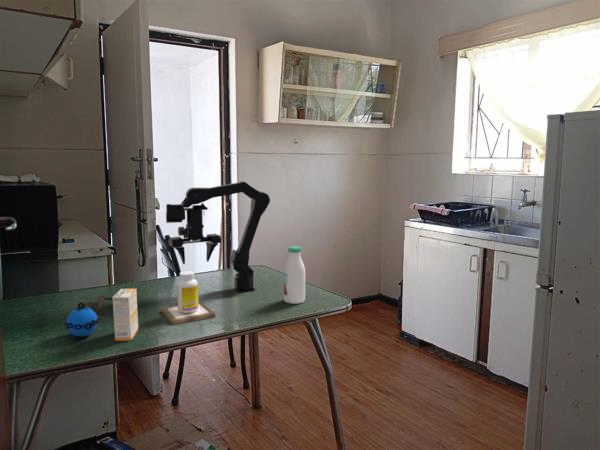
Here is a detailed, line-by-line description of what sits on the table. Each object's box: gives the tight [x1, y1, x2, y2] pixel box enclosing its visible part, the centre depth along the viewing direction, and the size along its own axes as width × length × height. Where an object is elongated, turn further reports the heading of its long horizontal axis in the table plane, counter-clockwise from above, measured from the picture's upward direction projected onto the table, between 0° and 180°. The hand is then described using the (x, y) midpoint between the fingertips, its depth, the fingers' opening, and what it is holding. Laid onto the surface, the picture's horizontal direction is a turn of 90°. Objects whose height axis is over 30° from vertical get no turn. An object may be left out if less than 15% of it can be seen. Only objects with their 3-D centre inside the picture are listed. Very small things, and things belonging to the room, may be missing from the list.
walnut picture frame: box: [160, 301, 216, 326], centre depth 155 cm, size 14×14×1 cm
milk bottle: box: [283, 245, 306, 305], centre depth 168 cm, size 8×8×20 cm
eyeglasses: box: [84, 294, 144, 319], centre depth 156 cm, size 15×15×5 cm
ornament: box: [65, 302, 99, 338], centre depth 135 cm, size 9×9×10 cm
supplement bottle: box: [176, 270, 199, 313], centre depth 154 cm, size 7×7×13 cm
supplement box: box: [111, 288, 139, 342], centre depth 136 cm, size 8×5×13 cm, turn 5°
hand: (195, 262), depth 176 cm, fingers open, 9 cm apart
